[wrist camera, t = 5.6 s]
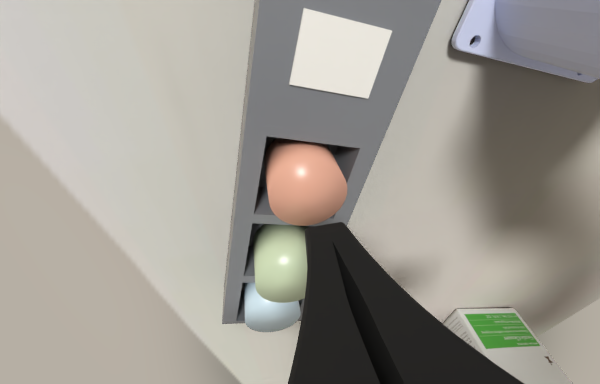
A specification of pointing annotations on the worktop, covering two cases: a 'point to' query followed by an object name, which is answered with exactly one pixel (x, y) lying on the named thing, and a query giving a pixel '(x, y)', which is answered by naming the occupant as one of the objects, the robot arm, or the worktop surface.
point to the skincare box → (507, 343)
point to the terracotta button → (303, 181)
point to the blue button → (268, 312)
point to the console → (317, 102)
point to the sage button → (280, 262)
